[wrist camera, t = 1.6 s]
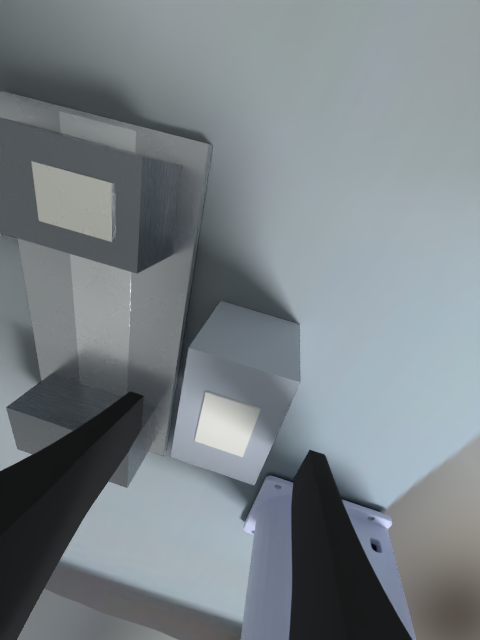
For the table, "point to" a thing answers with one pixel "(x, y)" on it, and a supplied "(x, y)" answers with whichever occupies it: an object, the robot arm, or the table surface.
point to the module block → (236, 391)
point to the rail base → (100, 264)
